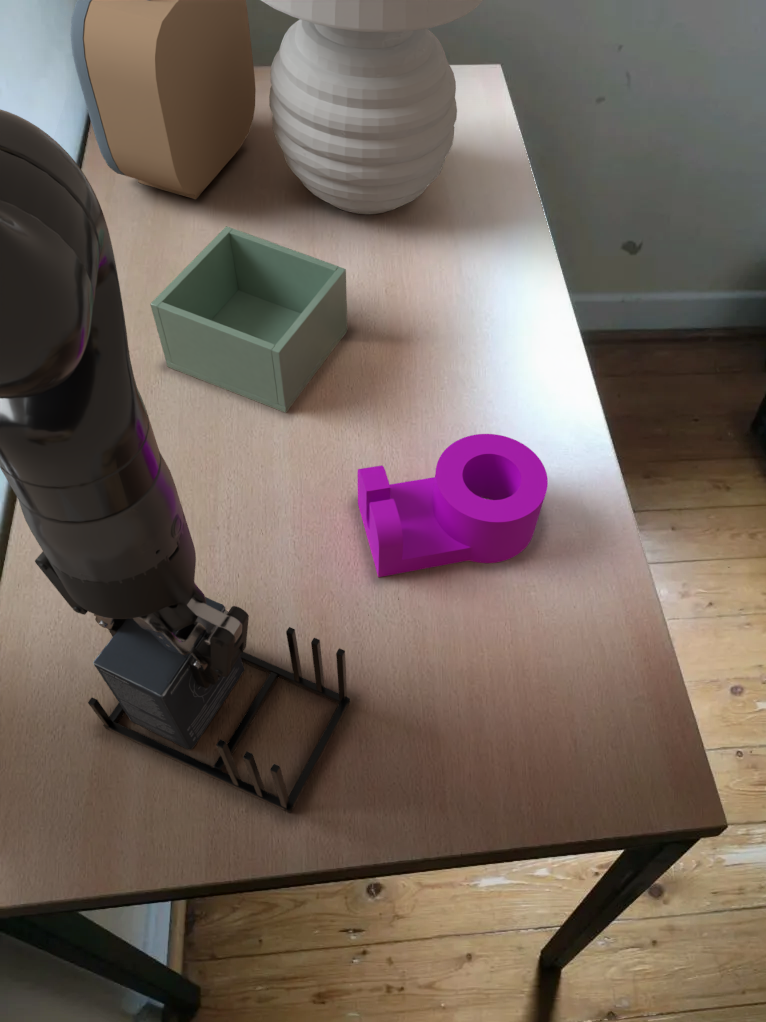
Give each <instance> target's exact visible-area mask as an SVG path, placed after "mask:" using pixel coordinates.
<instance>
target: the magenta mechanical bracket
mask: <svg viewBox="0 0 766 1022" xmlns="http://www.w3.org/2000/svg"><path fill="white" fill-rule="evenodd" d="M434 472H435V473H434V476H433V477H427V478H426V477H425V478H422V479H415V480H408V481H403V482H396V483H390V482H389V479H388V475H387V472H386V469H385V467H384V466H383V464H382V465H375V466H369V467H363V468H358V469H357V506H358V509H359V510H358V511H359V513H360V517H361V520H362V524H363V527H364V530H365V535H366V538H367V541H368V546H369V548H370V554H371V556H372V560H373V563H374V567H375V572H376V574H377V577H378V578H382V577H383V578H384V577H388V576H393V575H399V574H404V573H408V572H409V573H410V572H414V571H421V570H424V569H430V568H435V567H442V566H447V565H452V564H457V563H463V562H474V563H479V564H496V563H501V562H504V561H508V560H511V559H512V558H514V557H517V556H518V555H519V554H520V553H522V552H523V551H524V550H525V549H526V548H527V547H528V545H529V544H530V543H531V541H532V539H533V536H534V533H535V531H536V527H537V524H538V521H539V517H540V514H541V511H542V507H543V505H544V501H545V499H546V494H547V492H548V486H549V482H548V481H549V480H548V474H547V470H546V467H545V465H544V464H543V462H542V460H541V458H540V457H539V456H538V454H536V453H535V452H534V451H533V450H532V449H531V448H530V447H528V445H526V444H524V443H522V442H520V441H519V440H516V439H515V438H511V437H508V436H505V435H502V434H497V433H496V434H495V433H477V434H472V435H468V436H467V435H466V436H464V437H462V438H459V439H458V440H455V441H454V442H452V443H450V445H448V446H447V447H446V448H445V449H444V450H443V452H442V453H441V454H440V456H439V457H438V460H437V461H436V466H435V471H434Z"/></svg>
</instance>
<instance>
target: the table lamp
mask: <svg viewBox="0 0 766 1022" xmlns="http://www.w3.org/2000/svg"><path fill="white" fill-rule="evenodd" d="M260 1H261V2H263V3H264V4H265V5H268V6H269V7H270V8H273V9H274V10H275V11H279V12H281V13H283V14H286V15H288V16H290V17H293V18H296V19H298V20H297V21H295V22H293V24H291V26H289V28H288V29H287V30H286V32H285V33H284V36H283V38H282V40H281V43H280V46H279V49H278V50H277V52H276V53H275V55H274V57H273V60H272V63H271V66H270V88H269V89H270V90H269V99H268V100H269V102H268V103H269V105H268V106H269V109H270V111H271V114H272V115H271V126H272V127H271V128H272V131H273V133H274V134H273V135H274V137H275V140H276V142H277V144H278V145H279V147H280V149H281V151H282V153H283V157H284V160H285V163H286V164H287V167H289V169H290V171H291V172H292V173H293V174H294V175H295V176H296V177H297V178H298V179H299V180H300V182H301V183H302V184H303V186H304V187H305V188H306V189H307V190H308V191H309V192H310V193H311V194H313V195H314V196H315V197H317V198H319V199H320V200H322V201H324V202H325V203H328V204H330V205H331V206H333V207H334V208H337V209H340V210H342V211H344V212H349V213H353V214H360V215H376V214H383V213H386V212H390V211H393V210H395V209H397V208H401V207H402V206H405V205H406V204H409V203H411V202H413V201H414V200H416V199H418V198H419V197H420V196H421V195H422V194H423V193H425V191H426V189H427V188H428V187H429V185H430V184H432V183H433V182H434V181H435V180H436V179H437V177H438V176H439V175H440V174H441V171H442V168H443V166H444V163H445V160H446V157H447V156H448V155H449V154H450V151H451V149H452V146H453V143H454V137H455V124H456V122H457V116H458V108H457V107H458V106H457V99H456V91H457V85H456V82H457V81H456V77H455V74H454V70H453V69H452V67H451V65H450V63H449V61H448V59H447V56H446V52H445V50H444V48H443V45H442V43H441V42H440V40H439V39H438V37H437V36H436V35H435V34H434V33H433V31H431V30H429V29H432V28H435V27H438V26H443V25H446V24H449V23H452V22H453V21H456V20H458V19H461V18H464V17H465V16H466V15H468V14H469V13H471V12H473V11H475V9H476V8H478V7H479V6H480V4H482V2H483V1H484V0H260Z"/></svg>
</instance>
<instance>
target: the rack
mask: <svg viewBox="0 0 766 1022" xmlns="http://www.w3.org/2000/svg"><path fill="white" fill-rule="evenodd" d="M285 634H286V638H287V645H288V651H289V657H290V662H291V667H292V668H291V669H292V672H291V671H289V670H287V669H284V668H282V667H280V666H277V665H275V664H272V663H271V662H268V661H266V660H264V659H262V658H259V657H256V656H254V655H252V654H250V653H248V652H245V651H243V652H242V653H241V654H240V657H241V659H242V663H243V664H245V665H248V666H251V667H252V668H255V669H257V670H259V671H262V672H264V673H266V674H269V675H268V676H267V677H266V680H265V681H264V683H263V685H262V686H261V687H260V689H259V691H258V693H257V694H256V696H255V697H254V699H253V701H252V703H251V704H250V706H249V707H248V709H247V711H246V712H245V714H244V715H243V717H242V719H241V720H240V722H239V724H238V726H237V727H236V728H235V730H234V732H233V734H232V735H231V737H230V738H229V740H228V741H226V740H223V739H221V738H220V739H218V740H217V743H216V744H215V746H216V748H217V750H218V753H219V755H218V756H219V757H218V758H217V760H216V762H215V763H214V765H213V766H211V765H210V764H207V763H205V762H204V761H201V760H198V759H197V758H194V757H192V756H190V755H187V754H186V753H184V752H181V751H180V750H176V749H175V748H173V747H170V746H169V745H166V744H164V743H162V742H159V741H157V740H155V739H153V738H151V737H149V736H146V735H144V734H142V733H139V732H137V731H135V730H133V729H131V728H129V727H127V726H125V725H122V724H120V721H121V720H122V718H123V717H124V716H125V714H126V713H125V711H124V710H123V708H122V707H121V705H120V703H119V702H117V705H116V706H115V707H114V709H113V710H112V712H111V713H110V714H108V713H107V712H106V710H105V708H104V707H103V706H102V704H101V703H100V702H99V700H98V699H97V698H95V697H90V699H89V700H88V701H87V704H88V705H89V707H90V709H92V710H93V712H94V713H95V715H96V716H97V718H98V719H99V721H100V722H101V723H102V725H103V727H104V728H105V730H107V731H109V732H111V733H113V734H115V735H118V736H119V737H120V736H121V737H122V738H125V739H127V740H129V741H130V742H131V741H132V742H133V743H135V744H138V745H139V746H142V747H144V748H145V749H149V750H151V751H153V752H155V753H157V754H159V755H161V756H164V757H165V758H168V759H170V760H172V761H175V762H176V763H179V764H181V765H183V766H186V767H188V768H189V769H192V770H194V771H196V772H198V773H201V774H203V775H205V776H207V777H210V778H212V779H214V780H216V781H218V782H221V783H222V784H225V785H227V786H229V787H231V788H232V789H235V790H238V791H240V792H242V793H244V794H247V795H248V796H250V797H253V798H255V799H258V800H259V801H262V802H264V803H266V804H268V805H270V806H272V807H274V808H277V809H279V810H281V811H284V812H285V813H288V814H291V813H292V812H293V810H294V808H295V807H296V804H297V803H298V801H299V799H300V797H301V795H302V793H303V791H304V789H305V788H306V786H307V785H308V782H309V780H310V778H311V777H312V775H313V773H314V771H315V770H316V767H317V766H318V763H319V761H320V760H321V758H322V756H323V754H324V752H325V750H326V748H327V747H328V745H329V743H330V741H331V739H332V737H333V735H334V734H335V732H336V730H337V729H338V727H339V724H340V722H341V720H342V719H343V717H344V715H345V713H346V711H347V709H348V707H349V706H350V704H351V697H348V687H347V686H348V685H347V684H348V683H347V664H346V662H347V661H346V650H345V649H342V648H341V647H339V648H338V649H337V652H336V653H335V657H336V658H335V659H336V673H337V685H338V692H337V691H335V690H333V689H330V688H328V687H326V686H325V676H324V668H323V667H324V666H323V657H322V648H321V647H322V646H321V640H320V639H319V638H317V637H313V639H312V640H311V642H310V645H311V647H310V648H311V654H312V655H311V656H312V661H313V670H314V677H315V678H314V679H315V681H312V680H309V679H308V678H305V677H303V672H302V667H301V665H302V664H301V660H300V653H299V647H298V641H297V634H296V629H295V628H294V627H290V626H288V628H287V630H286V631H285ZM279 679H280V680H283V681H285V682H287V683H289V684H291V685H293V686H296V687H299V688H301V689H303V690H306V691H308V692H310V693H313V694H315V695H317V696H319V697H321V698H323V699H326V700H329V701H330V702H333V703H335V704H337V707H336V709H335V711H334V712H333V714H332V716H331V718H330V720H329V722H328V723H327V726H326V727H325V730H324V731H323V733H322V735H321V736H320V738H319V740H318V742H317V743H316V746H315V748H314V749H313V751H312V753H311V755H310V757H309V759H308V760H307V762H306V764H305V765H304V768H303V770H302V771H301V773H300V775H299V776H298V778H297V780H296V782H295V784H294V786H293V788H292V790H291V792H290V793H289V794H288V790H287V787H286V783H285V780H284V777H283V772H282V769H281V768H282V767H281V766H280V765H278V764H277V763H273V764H272V765H271V767H270V769H269V771H270V774H271V778H272V781H273V784H274V787H275V790H276V793H277V795H275V794H273V793H270V792H269V791H267V790H266V788H265V785H264V782H263V779H262V777H261V774H260V771H259V767H258V764H257V761H256V759H255V756H254V753H252V752H250V751H247V750H246V751H245V753H244V754H243V756H242V758H243V761H244V764H245V767H246V770H247V773H248V774H249V777H250V780H251V782H252V784H251V783H249V782H247V781H244V780H242V777H241V775H240V772H239V770H238V767H237V765H236V763H235V761H234V757H233V755H234V753H235V751H237V748H238V746H239V745H240V743H241V742H242V740H243V738H244V737H245V735H246V733H247V732H248V730H249V728H250V727H251V725H252V723H253V721H254V720H255V718H256V716H258V713H259V712H260V710H261V709H262V707H263V705H264V703H265V701H266V700H267V698H268V697H269V695H270V693H271V692H272V691H273V688H274V687H275V685H276V683H277V681H278V680H279ZM225 768H226V771H227V772H225V771H224V770H225Z"/></svg>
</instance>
